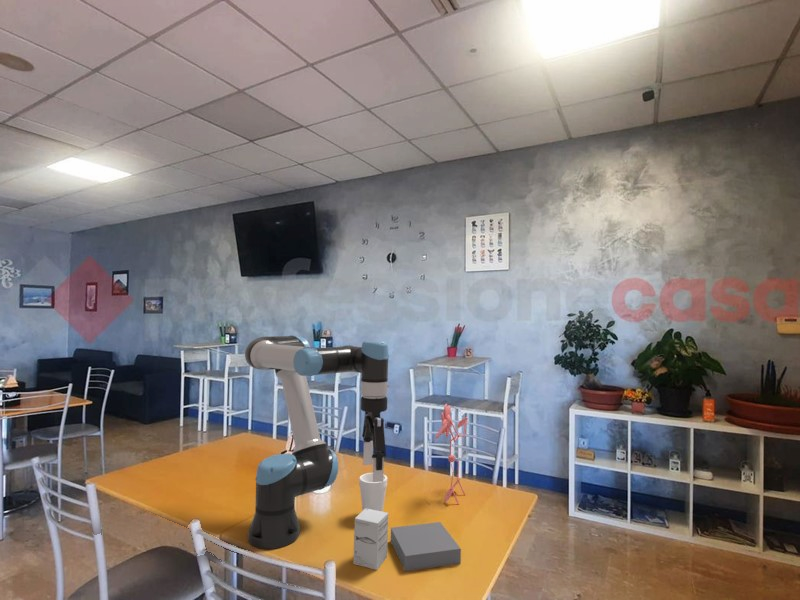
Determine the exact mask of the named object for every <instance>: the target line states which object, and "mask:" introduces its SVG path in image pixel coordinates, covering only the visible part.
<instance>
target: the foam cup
mask: <svg viewBox="0 0 800 600" xmlns="http://www.w3.org/2000/svg"><path fill="white" fill-rule="evenodd" d="M358 480H359V481H358V482H359V487H360V489H359V490H360V499H361V506H362V511H363V510H364V509H365V508H367V509H372V510H377V511H382V512H384V505H385V500H386V499H385V498H386V491H387V486H388V476H387V475H386V474H384V473H383V482H373V472H366V473H364V474H361V475H360V476H359V479H358Z"/></svg>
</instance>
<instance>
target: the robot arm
mask: <svg viewBox="0 0 800 600" xmlns="http://www.w3.org/2000/svg"><path fill="white" fill-rule="evenodd" d="M389 356H390V355H389V345H388V343H387V342H386V341H382V340H381V341H380V340H366V341H365V340H364V341H363V342H362V344H361V346H354V345H350V344H349V345H341V346H333V347H332V346H330V347H329V346H327V347H315V346H314V347H313V346H311V345H310V343H309V341H308V340H307V339H306V338H304V337H303V336H300V335H296V336H295V335H288V336H287V335H286V336H285V335H283V336H282V335H281V336H280V335H279V336H275V335H274V336H260V337H257V338H256V339H253V340H252V341H251V342H249V344H247V346H246V348H245V351H244V358H245V359H244V360H245V361H246V363H247V364H248V365H249V366H250V367H251V368H253V369H256V370H266V371H267V370H274V372H275V376H276V377H277V379H279V380H281V384H282V390H283V394H284V400H285V404H286V409H287V413H288V417H289V422H290V428H291V432H292V437H293V442H294V449H293V450H292V452H291V453H282V454H280V453H278V454H274V455H270V456H268V457H266V458H264V459H263V460H261V461H260V462H259V464H258V465H257V468H256V474H255V475H256V476H255V511H254V515H253V517H252V521H251V523H250V527H249V529H248V536H247V537H248V543H249V545H251V546H252V547H254V548H258V549H266V550H270V549H278V548H279V549H280V548H283V547H286V546H289V545H290V544H292V543H294V542H296V541H297V539H299V537H300V534H301V532H300V529H301V526H300V521H299V519H298V515H297V512H296V509H295V504H296V503H295V501H296V498H297V497H299V496H303V495H305V494H309V493H312V492H315V491H319V490H323V489H325V488H327V487H330V486H332V485H333V484H334V483H335V481H336V479H337V477H338V474H339V460H338V455H337V454H336V452H335V451H334V450H333V449H330V448H328V445H327V442H325V441H324V440H322V439H321V436H320V430H319V427H318V422H317V417H316V414H315V410H314V406H313V400H312V396H311V393H310V392H311V391H310V387H309V382H308V380H307V377H313V376H314V377H315V376H318V375H320V376H321V375H328V374H341V373H351V372H352V373H359V374H361V375H360V376H361V379H360V395H361V397H360V410H361V411H362V412H364V419H363V428H362V434H361V436H362V437H361V438H362V439H363V454H362V455H363V458H362V460H363V461H362V462H363V463H362V465H363V466H368V465H371V466H372V473H373V482H383V474H384V472H385V471H384V466H385V465H384V464H385V463H384V460H385V458H386V457H387V451H386V450H387V448H386V439H385V438H386V437H385V424H384V422H385V419H384V418H383V417H381V413H382V412H385V411H387V410H388V397H387V395H388V388H389V387H390V383H388V379H389V378H388V375H389Z"/></svg>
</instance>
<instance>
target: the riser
mask: <svg viewBox="0 0 800 600" xmlns="http://www.w3.org/2000/svg"><path fill="white" fill-rule="evenodd" d="M390 543H391V545H392V547H393V549H394V551H395V553H396V555H397V557H398V559H399V562H400V563H401V566H402V568H403V570H404V571H405V572H411V571H417V570H424V569H431V568H437V567H438V568H439V567H444V566H445V567H446V566H451V565H458V564H459V565H460V564H461V561H462V559H461V558H462V553H461V552H462V548H461V546H459V544H458V543H457V542H456V540H455V538H453V537H452V535H451V534H450V533H449V531H448V530H447V529H446V527H445V526H444V525H443V523H442V522H441V521H437V522H428V523H420V524H411V525H410V524H409V525H404V526H393V527H390Z"/></svg>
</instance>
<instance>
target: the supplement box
mask: <svg viewBox="0 0 800 600" xmlns="http://www.w3.org/2000/svg"><path fill="white" fill-rule="evenodd" d="M388 529H389V512H387V511H383V512H382V511H377V510H372V509H367V508H365V509H364V510H363V509H362V511H361V512H360V513H359V514H358V515H357V516H355V518H354V533H353V534H354V535H353V536H354V537H353V538H354V539H353V565H357V566H360V567H361V566H362V567H364V568H368V569H372V570H375V571H377V570H378V569H379V568H380V567H381V566H382V565H383V563H384V562H385V561H386V559H387V557H388V536H389V534H388V533H389V532H388V531H389V530H388Z"/></svg>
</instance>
